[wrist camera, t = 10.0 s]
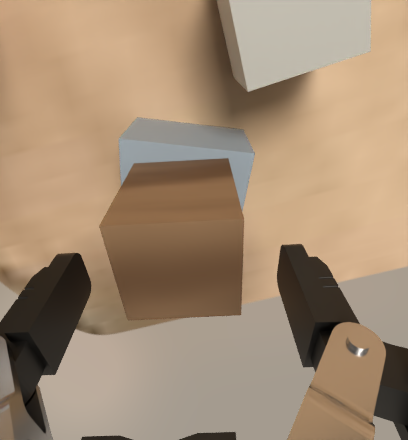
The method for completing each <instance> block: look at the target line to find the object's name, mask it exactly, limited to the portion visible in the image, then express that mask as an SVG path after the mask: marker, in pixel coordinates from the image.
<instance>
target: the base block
mask: <svg viewBox="0 0 408 440" xmlns="http://www.w3.org/2000/svg"><path fill="white" fill-rule="evenodd" d="M119 153H120V173H121V186H122V184H123V182H124V180H125V178H126V177H127V175H128V173H129V171H130V169H131V168H132V166H133V164H134V163H149V162H168V161H186V160H204V159H223V158H228V159H229V163H230V166H231V170H232V174H233V178H234V182H235V186H236V190H237V194H238V197H239V201H240V205H241V209H242V210H243V206H244V201H245V197H246V192H247V188H248V183H249V178H250V174H251V169H252V165H253V160H254V155H255V153H254V151H253V149H252V146H251V144H250V142H249V140H248V138H247V136H246V134H245V132H244V130H242V129H234V128H225V127H216V126H208V125H199V124H190V123H181V122H173V121H164V120H155V119H147V118H138V117H137V118H136V119H135V121H134V122H133V123H132V124H131V125H130V126H129V127H128V129H127V130H126V131H125V132H124V133H123V134H122V135H121V137H120V138H119Z"/></svg>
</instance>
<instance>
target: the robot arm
mask: <svg viewBox="0 0 408 440" xmlns="http://www.w3.org/2000/svg"><path fill="white" fill-rule="evenodd" d="M277 282H278V288H279V292H280V295H281V298H282V301H283V304H284V307H285V311H286V314H287V317H288V320H289V323H290V327H291V330H292V333H293V336H294V339H295V343H296V345H297V349H298V352H299V355H300V359H301V362H302V365H303V367H314V369H315V375H314V378H313V380H312V382H311V385H310V386H309V388H308V390H307V392H306V395H305V397H304V399H303V402H302V404H301V407H300V409H299V412H298V414H297V417H296V419H295V422H294V424H293V427H292V429H291V431H290V434H289V436H288V439H287V440H374V434H375V425H374V424H373V415H374V416H377V417H380V418H383V419H387V420H390V421H393V422H394V424H395V427H396V429H397V431H398V433H399V435H400V438H401V440H408V349H407V348H403V347H399V346H395V345H391V344H388V343H385V342H382V341H381V339H380V338H379V337H378V336H377V335H376V334H375V333H374V332H373V331H371V330H370V329H368V328H367V327H365V326H363V325H360V323H359V322H358V320H357V318H356V316H355V315H354V313H353V311H352V309H351V307H350V306H349V304H348V302H347V300H346V298H345V297H344V295H343V293H342V291H341V290H340V288H338V284H337V282H336V281H335V279H334V278H333V275H332V273H331V272H330V270H329V268H328V266H327V265H326V264H325V263H323V262H322V261H321V260H320V259H319V258H318V257H308V255H307V253H306V251H305V249H304V247H303V245H302V244H292V245H282V246H281V249H280V256H279V264H278V271H277ZM90 293H91V281H90V278H89V275H88V273H87V270H86V267H85V265H84V262H83V259H82V257H81V255H80V254H79V253H65V254H57V255H56V256H55V258H54V259H53V261H52V262H51V264H50V265H49V267H44V268H43V269H42V270H40V271H39V272H38V273H37V274H35V275H34V276H33V277H32V278H31V280H30V281H29V283H28V284H27V285H26V287H25V290H23V291H22V292H21V294H20V295H19V297H18V299H17V300H16V301H15V302H14V304H13V305H12V306H11V308H10V309H9V311H8V312H7V314H6V315H5V316H4V318H3V319H2V320H1V322H0V440H53V438H52V434H51V431H50V427H49V423H48V419H47V415H46V411H45V407H44V403H43V399H42V396H41V392H40V388H39V386H38V385H37V384H38V382H39V380H40V378H41V376H42V375H55V374H56V372H57V370H58V367H59V365H60V363H61V360H62V358H63V356H64V353H65V351H66V349H67V347H68V344H69V342H70V340H71V337H72V335H73V333H74V331H75V328H76V326H77V324H78V321H79V319H80V317H81V314H82V312H83V310H84V308H85V305H86V303H87V301H88V298H89V296H90ZM81 440H132V439H129V438H125V437H122V436H92V437H82V439H81ZM180 440H236V433H235V432H224V433H197V434H194V435H191V436H188V437H185V438H183V439H180Z"/></svg>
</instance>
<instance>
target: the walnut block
mask: <svg viewBox="0 0 408 440" xmlns="http://www.w3.org/2000/svg"><path fill="white" fill-rule="evenodd" d="M99 227H100V230H101V234H102V237H103V240H104V244H105V247H106V250H107V253H108V257H109V260H110V263H111V267H112V270H113V273H114V276H115V280H116V283H117V286H118V289H119V293H120V296H121V299H122V303H123V306H124V309H125V312H126V316H127V319H128V320H144V319H166V318H188V317H209V316H230V315H241V300H242V268H243V236H244V217H243V213H242V209H241V205H240V201H239V197H238V194H237V190H236V186H235V182H234V178H233V174H232V170H231V166H230V163H229V159H228V158H223V159H204V160H186V161H168V162H149V163H134V164H133V166H132V168H131V169H130V171H129V173H128V175H127V177H126V178H125V180H124V182H123V184H122V186H121V188H120V189H119V191H118V193H117V195H116V197H115V198H114V200H113V202H112V204H111V206H110V208H109V209H108V211H107V213H106V215H105V217H104V218H103V220H102V222H101V224H100V226H99Z"/></svg>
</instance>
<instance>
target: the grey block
mask: <svg viewBox="0 0 408 440" xmlns="http://www.w3.org/2000/svg"><path fill="white" fill-rule="evenodd" d="M216 1H217V5H218V10H219V14H220V19H221V23H222V28H223V32H224V36H225V41H226V45H227V50H228V54H229V59H230V63H231V68H232V72H233V77H234V79H235V80H236V81H237V82H238V83H239V84H240V85H241V86H242V87H243V88H244V89H245V90H246V91H247V92H249V91H252V90H255V89H258V88H261V87H264V86H267V85H270V84H274V83H277V82H280V81H283V80H286V79H289V78H292V77H295V76H298V75H301V74H304V73H307V72H310V71H313V70H316V69H319V68H322V67H325V66H328V65H331V64H334V63H337V62H340V61H343V60H346V59H349V58H352V57H355V56H358V55H361V54H364V53H367V52H370V51H371V0H216Z"/></svg>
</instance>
